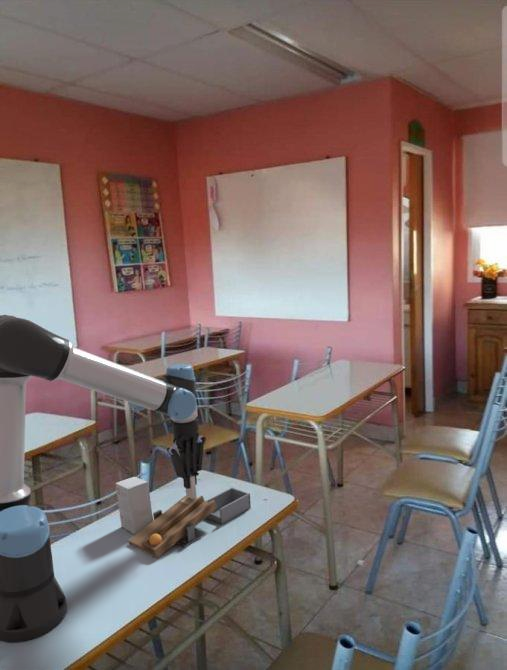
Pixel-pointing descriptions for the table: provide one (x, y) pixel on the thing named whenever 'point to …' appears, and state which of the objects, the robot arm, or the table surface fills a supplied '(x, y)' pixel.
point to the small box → (134, 504)
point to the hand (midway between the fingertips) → (191, 497)
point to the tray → (229, 505)
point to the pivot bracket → (187, 538)
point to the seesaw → (172, 524)
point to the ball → (155, 539)
